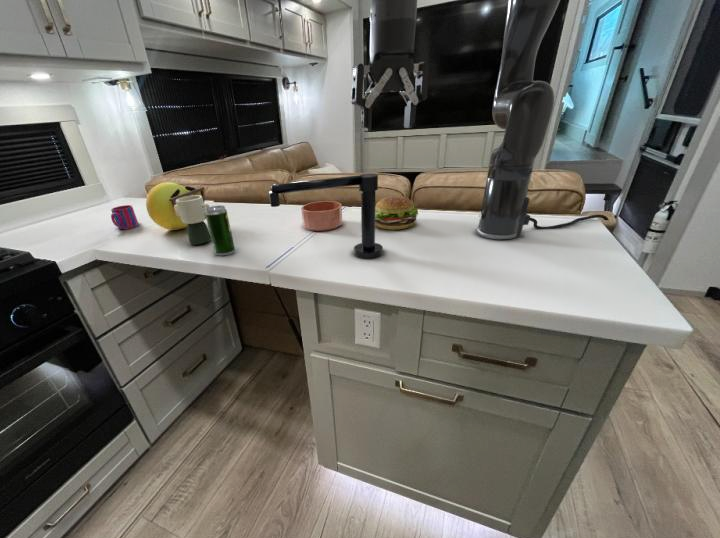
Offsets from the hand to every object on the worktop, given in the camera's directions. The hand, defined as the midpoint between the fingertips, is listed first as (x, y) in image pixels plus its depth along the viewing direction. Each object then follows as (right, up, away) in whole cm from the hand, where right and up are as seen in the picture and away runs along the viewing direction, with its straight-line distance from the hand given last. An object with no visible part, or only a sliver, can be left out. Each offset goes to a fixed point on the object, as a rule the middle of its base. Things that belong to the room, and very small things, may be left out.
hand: (388, 129), depth 63 cm
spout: (-12, -11, +10) cm, 19 cm away
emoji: (-61, -9, +48) cm, 78 cm away
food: (+9, -10, +35) cm, 38 cm away
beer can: (-39, -20, +26) cm, 51 cm away
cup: (-83, -7, +54) cm, 99 cm away
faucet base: (-1, -21, +18) cm, 28 cm away
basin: (-12, -10, +39) cm, 42 cm away
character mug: (-48, -16, +34) cm, 62 cm away
